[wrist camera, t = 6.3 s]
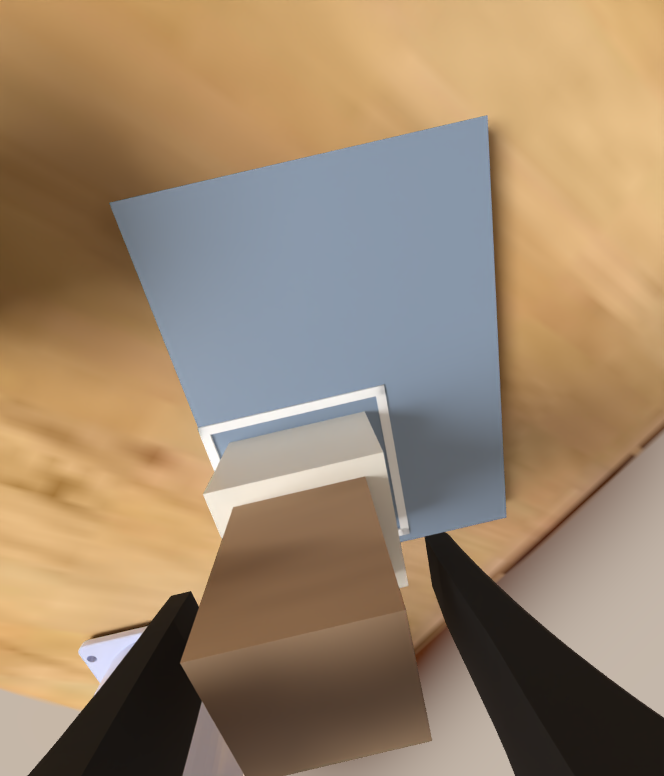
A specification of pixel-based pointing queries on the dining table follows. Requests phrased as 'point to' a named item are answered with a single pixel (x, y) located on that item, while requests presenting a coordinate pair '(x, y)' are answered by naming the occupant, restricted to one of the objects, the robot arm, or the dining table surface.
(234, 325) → the board
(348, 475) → the cream base block
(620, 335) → the dining table surface
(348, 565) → the walnut block
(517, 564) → the dining table surface
